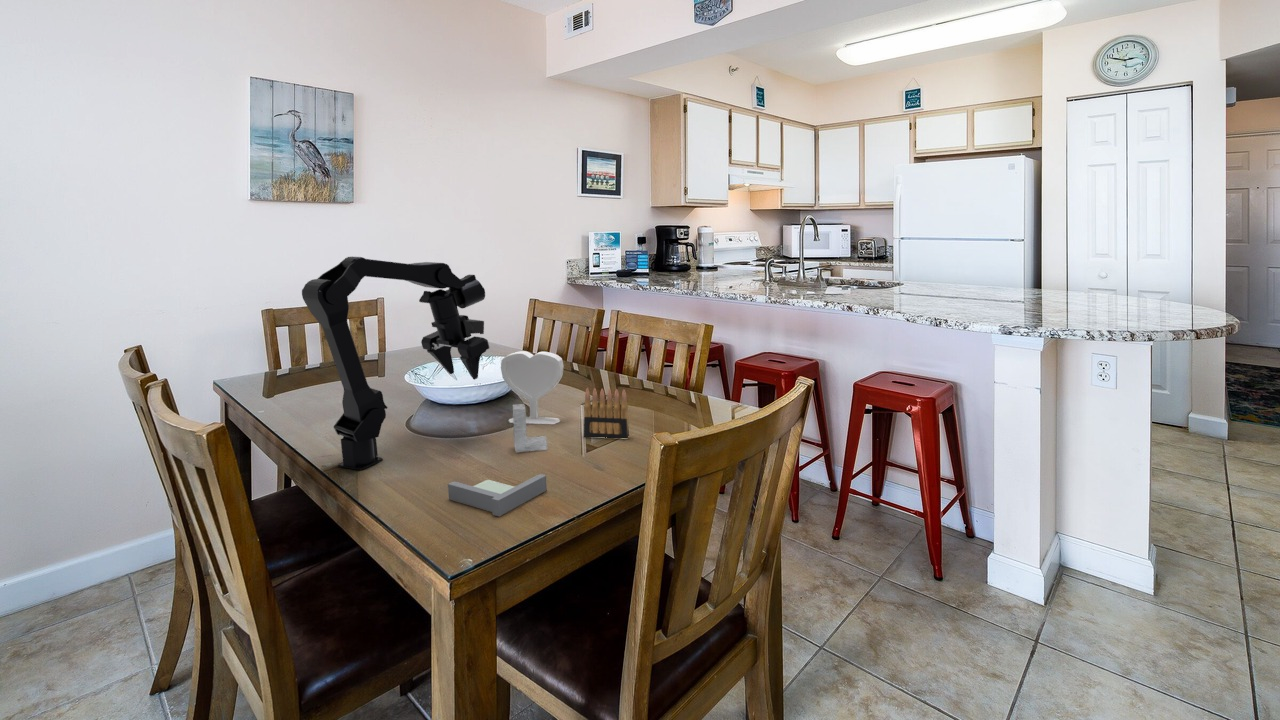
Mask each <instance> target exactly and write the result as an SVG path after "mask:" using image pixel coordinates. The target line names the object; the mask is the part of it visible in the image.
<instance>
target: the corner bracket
mask: <svg viewBox="0 0 1280 720" xmlns="http://www.w3.org/2000/svg"><path fill="white" fill-rule="evenodd" d="M473 486H474V485H469V484H465V483H462V482H458V481H451V482H449V483H447V493H448V500H450V501H454V502H457V503H460V504H464V505H467V506H471V507H474V508H477V509H481V510H484V511H487V512H490V513H492V515H493V516H495V517H501V516H503V515H505V514H506V513H507V514H508V512H510V511H512V510H515V508H517V507H519V506H522V505H523V504H525V503H526V502H529V501H530V500H532V499H534V498H536V497H537V496H539V495H541V494H544V492H546V491H548V490H547V489H548V488H547V486H548V485H547V474H546V475H545V474H543V473H539V474H537V475H535V476H534V477H531V478H529V479H527V480H525V481H524V482H521V483H520V484H518V485H515V486H514V487H513V488H512V489H510V490H508V491H506V492H504V493H502V494H499V493H495V492H492V491H488V490H484V489H481V488H477V487H473Z"/></svg>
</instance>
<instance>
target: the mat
mask: <svg viewBox="0 0 1280 720" xmlns="http://www.w3.org/2000/svg"><path fill="white" fill-rule="evenodd" d="M472 486H473V487H477V488H481V489H484V490H488V491H492V492H495V493H499V494H502V493H504V492H506V491H508V490H510V489H512V488H513V487H515V486H513V485H510V484H505V483H502V482H498V481H494V480H490V479H485V480H483V481H481V482H480V483H477V484H474V485H472Z"/></svg>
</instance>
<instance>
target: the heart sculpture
mask: <svg viewBox="0 0 1280 720" xmlns="http://www.w3.org/2000/svg"><path fill="white" fill-rule="evenodd" d="M564 367H565V365H564V362H563V358H562V357H561V356H559V354H556V353H553V352H550V351H549V352H548V351H539V352H537V353H535V354H533V353H532V352H530V351H527V350H519V351H516V352H512V353H509V354H508V355H506V356H504V357H503V358H502V359H501V362H500V371H501V372H500V373H501V376H502V379H503V381H504V382H505V384H506V385H507V386H508V388H509V389H510V390H512V391H513V392H514V393H515V394H516V395H518V396H519V397H521V398H523V399H525V400H526V401H528V402H529V416H526V424H534V425H535V424H537V425H538V424H539V425H542V424H543V425H555V424H557V423H560V422H561V420H560V418H557V417H545V416H539V399H542V398H543V397H545V396H546V395H547V394H549V393H550V392H551V391H552V390H554V388H555V387H556V386H558V384H559V382H560V381H561V379H562V377H563V373H564ZM508 422H509V423H512V424H513V417H512V418H509V419H508Z"/></svg>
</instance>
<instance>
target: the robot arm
mask: <svg viewBox="0 0 1280 720" xmlns="http://www.w3.org/2000/svg"><path fill="white" fill-rule="evenodd" d="M365 277H368V278H378V279H389V280H399V281H404V282H405V281H406V282H408V283H412V284H414V285H417V286H421V287H423V288H430V289H432V288H433V289H436V290H434V291H430V290H424V291H423V294H422V295H421V296H420V298H419V300H418V301H419V303H422V304H429V306H430V310H431V313H432V316H433V322H431V327H433V328H436V331H434V332H431V333H429V334H427V335H424V336H423V337H422V339H421V341H420V343H421V347H422V349H423V350H426V353H429V354H430V355H431V356H432V357H433V358H434V359H435V360H436V361H437V362H438V363H439V364H440V365H441V366H442V368H443V369H445V370H446V372H447V373H448V374H449V375H452V374H454V373H455V368H454V363H453V357H452V354H451V353H452V352H451V350H452V348H457V352H458V354H459V356H460V357H459V359H460V361H461V362H462V365H463V366H464V367H465V369H466V370H467V372H468V373H469V375H470V377H471V379H473V380H477V379H478V378H479V372H480V371H479V367H480V359H481V356H482V355H483V354H484V353H485V352H487V350H489V349H490V342H489V340H488V339H487V338H484V337H480V336H472V335H473V334H479V335H484V333H485V320H480V319H479V320H478V319H470V318H469V316H468V315H465V314H460V312H459V309H466V308H468V307H471V306H473V305H475V304H477V303H480V302H482V301H483V300H485V299H486V298H485V297H486V290H485V288H484V287H483V284H481V282H480V281H479V280H477V278H476V275H475V274H467V275H465V276H464V277H461V278H459V277H458V276H457V275H456V274H455V273H453V272H452V269H451V268H450V265H449V264H447V263H444V262H431V261H430V262H429V261H425V262H413V263H403V262H395V261H387V260H380V259H379V260H378V259H370V258H365V257H361V256H346V257H345V258H344V259H343V260H341V262H339V263H338V264H337V265H335V266H332V268H330V269H329V270H327V271H326V272H324V273H322V274H321V275H319V276H318V277H317V278H314V279H310V280H308V281H307V283H305V284H304V286H303V288H302V289H301V296H302V299H303V301H304V303H305V305H306V307H307V309H308V310H309V313H311V315H312V316H313V317H314V318H315V320H317V322H318V323H319V324H320V326H321V328H322V330H323V333H324V336H325V339H326V341H327V344H328V347H329V351H330V354H331V356H332V359H333V362H334V365H335V367H336V370H337V373H338V376H339V380H340V382H341V385H342V387H343V395H342V402H341V403H342V409H343V413H342V415H341V416H340V418H339V419H338V420H337V421H336V423H335V424H334V425H333V429H334V431H335V433H336V435H337V436H342V438H340V445H341V447H340V448H341V454H342V455H341V456H342V461H341V462H339V463H337V467H339V468H346V469H350V470H351V469H352V470H357V471H362V470H364V469H367V468H369V467H371V466H373V465H375V464H377V463H380V462H382V461H384V459H383V457H380V456H379V457H378V455H379V454H378V446H377V445H378V444H377V438H378V437H380V432H381V428H382V424H383V423H384V421H385V419H386V416H387V413H386V412H387V411H386V410H387V409H388V406H387V405H386V403H385V401H384V395H383V392H382V391H381V390H378V389H375V388H372V387H370V386H369V384H368V381H367V378H366V374H365V372H364V368H363V365H362V363H361V360H360V357H359V354H358V350H357V348H356V345H355V344H356V343H355V341H354V339H353V336H352V333H351V329H350V325H349V323H348V316H349V310H350V305H349V300H348V299H349V298H348V297H349V296H350V295H351V294H352V293H353V292H354V291H356V289H357V288H358V285H359V284H360V282H361V281H362V280H363V279H364V278H365ZM446 288H448V289H446ZM445 289H446V290H445ZM470 337H471V338H470Z"/></svg>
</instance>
